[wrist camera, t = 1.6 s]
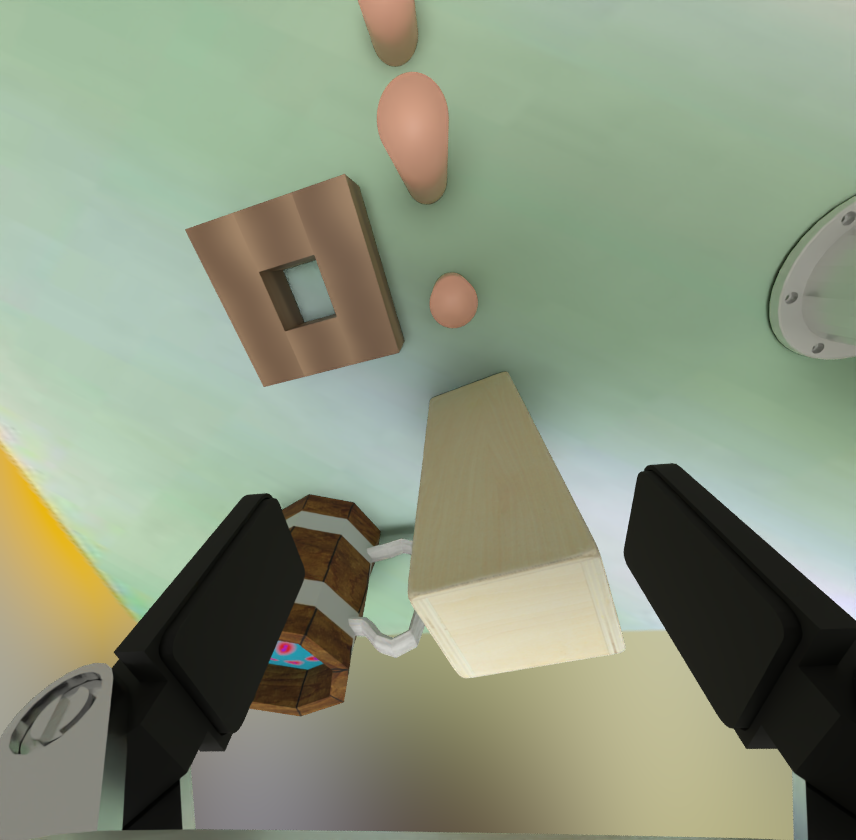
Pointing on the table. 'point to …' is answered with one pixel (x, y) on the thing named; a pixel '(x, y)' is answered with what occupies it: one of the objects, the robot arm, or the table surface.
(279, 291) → the hole block
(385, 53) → the pin short
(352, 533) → the mug
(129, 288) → the table surface
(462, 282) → the pin medium
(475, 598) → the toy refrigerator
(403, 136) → the pin long
